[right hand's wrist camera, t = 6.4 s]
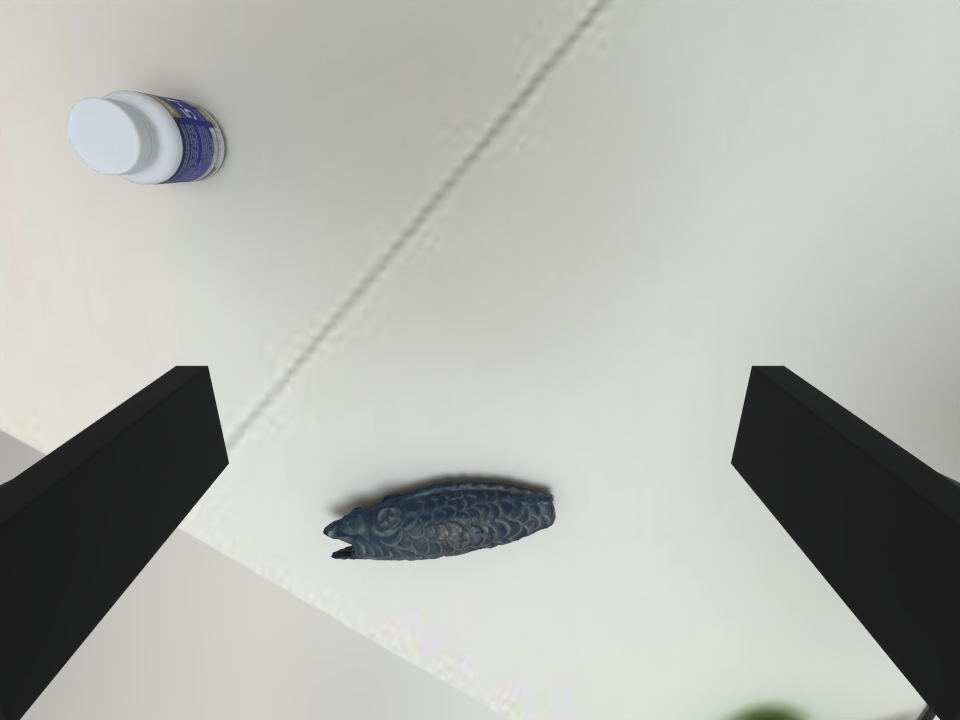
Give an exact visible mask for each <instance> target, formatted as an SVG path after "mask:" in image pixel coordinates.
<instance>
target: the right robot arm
mask: <svg viewBox="0 0 960 720" xmlns="http://www.w3.org/2000/svg"><path fill="white" fill-rule="evenodd" d="M228 464H229V461H228V456H227V452H226V447H225V442H224V438H223V433H222V429H221V424H220V419H219V415H218V410H217V405H216V401H215V396H214V392H213V387H212V382H211V378H210V373H209V368H208V366H175V367H174V368H172V369H171V370H170V371H168V372H167V373H165V374H164V375H162V376H161V377H159V378H158V379H157V380H155V381H154V382H152V383H151V384H149V385H148V386H146V387H145V388H144V389H142V390H141V391H139V392H138V393H136V394H135V395H133V396H132V397H131V398H129V399H128V400H126V401H125V402H123V403H122V404H120V405H119V406H118V407H116V408H115V409H113V410H112V411H110V412H109V413H107V414H106V415H105V416H103V417H102V418H100V419H99V420H97V421H96V422H94V423H93V424H92V425H90V426H89V427H87V428H86V429H84V430H83V431H81V432H80V433H79V434H77V435H76V436H74V437H73V438H71V439H70V440H68V441H67V442H66V443H64V444H63V445H61V446H60V447H58V448H57V449H55V450H54V451H53V452H51V453H50V454H48V455H47V456H45V457H44V458H42V459H41V460H40V461H38V462H37V463H35V464H34V465H32V466H31V467H30V468H28V469H27V470H25V471H24V472H22V473H21V474H19V475H18V476H16V477H15V478H14V479H12V480H10V481H8V482H6V483H4V484H2V485H0V720H20V719H21V718H22V716H23V715H24V714H25V713H26V711H27V710H28V709H29V708H30V707H31V705H32V704H33V703H34V702H35V700H36V699H37V698H38V697H39V696H40V694H41V693H42V692H43V691H44V689H45V688H46V687H47V686H48V685H49V683H50V682H51V681H52V680H53V678H54V677H55V676H56V675H57V674H58V672H59V671H60V670H61V669H62V667H63V666H64V665H65V664H66V663H67V661H68V660H69V659H70V658H71V656H72V655H73V654H74V653H75V651H76V650H77V649H78V648H79V647H80V645H81V644H82V643H83V642H84V640H85V639H86V638H87V637H88V636H89V634H90V633H91V632H92V631H93V629H94V628H95V627H96V626H97V624H98V623H99V622H100V621H101V620H102V618H103V617H104V616H105V615H106V613H107V612H108V611H109V610H110V609H111V607H112V606H113V605H114V604H115V602H116V601H117V600H118V599H119V598H120V596H121V595H122V594H123V593H124V591H125V590H126V589H127V588H128V587H129V585H130V584H131V583H132V582H133V580H134V579H135V578H136V577H137V575H138V574H139V573H140V572H141V571H142V569H143V568H144V567H145V566H146V564H147V563H148V562H149V561H150V560H151V558H152V557H153V556H154V555H155V553H156V552H157V551H158V550H159V548H160V547H161V546H162V545H163V543H164V542H165V541H166V540H167V539H168V537H169V536H170V535H171V534H172V533H173V531H174V530H175V529H176V528H177V526H178V525H179V524H180V523H181V522H182V520H183V519H184V518H185V517H186V515H187V514H188V513H189V512H190V510H191V509H192V508H193V507H194V506H195V504H196V503H197V502H198V501H199V499H200V498H201V497H202V496H203V495H204V493H205V492H206V491H207V490H208V488H209V487H210V486H211V485H212V484H213V482H214V481H215V480H216V479H217V477H218V476H219V475H220V474H221V472H222V471H223V470H224V469H225V468H226V466H227V465H228ZM731 464H732V465H733V466H734V468H735V469H736V470H737V471H738V472H739V474H740V475H741V476H742V477H743V479H744V480H745V481H746V482H747V484H748V485H749V486H750V487H751V488H752V490H753V491H754V492H755V493H756V495H757V496H758V497H759V498H760V499H761V501H762V502H763V503H764V504H765V506H766V507H767V508H768V509H769V511H770V512H771V513H772V514H773V515H774V517H775V518H776V519H777V520H778V522H779V523H780V524H781V525H782V526H783V528H784V529H785V530H786V531H787V533H788V534H789V535H790V536H791V537H792V539H793V540H794V541H795V542H796V544H797V545H798V546H799V547H800V549H801V550H802V551H803V552H804V553H805V555H806V556H807V557H808V558H809V560H810V561H811V562H812V563H813V564H814V566H815V567H816V568H817V569H818V571H819V572H820V573H821V574H822V575H823V577H824V578H825V579H826V580H827V582H828V583H829V584H830V585H831V587H832V588H833V589H834V590H835V591H836V593H837V594H838V595H839V596H840V598H841V599H842V600H843V601H844V602H845V604H846V605H847V606H848V607H849V609H850V610H851V611H852V612H853V613H854V615H855V616H856V617H857V618H858V620H859V621H860V622H861V623H862V625H863V626H864V627H865V628H866V629H867V631H868V632H869V633H870V634H871V636H872V637H873V638H874V639H875V640H876V642H877V643H878V644H879V645H880V647H881V648H882V649H883V650H884V651H885V653H886V654H887V655H888V656H889V658H890V659H891V660H892V661H893V663H894V664H895V665H896V666H897V667H898V669H899V670H900V671H901V672H902V674H903V675H904V676H905V677H906V678H907V680H908V681H909V682H910V683H911V685H912V686H913V687H914V688H915V689H916V691H917V692H918V693H919V694H920V696H921V697H922V698H923V699H924V701H925V702H926V703H927V704H928V705H929V707H930V708H931V709H932V710H933V712H934V713H935V714H936V715H937V716H938V718H939V719H940V720H960V483H959V482H957V481H955V480H953V479H951V478H948V477H946V476H944V475H942V474H940V473H938V472H936V471H935V470H933V469H932V468H931V467H929V466H928V465H926V464H925V463H923V462H922V461H920V460H919V459H918V458H916V457H915V456H913V455H912V454H910V453H909V452H907V451H906V450H905V449H903V448H902V447H900V446H899V445H897V444H896V443H894V442H893V441H892V440H890V439H889V438H887V437H886V436H884V435H883V434H881V433H880V432H879V431H877V430H876V429H874V428H873V427H871V426H870V425H868V424H867V423H866V422H864V421H863V420H861V419H860V418H858V417H857V416H855V415H854V414H853V413H851V412H850V411H848V410H847V409H845V408H844V407H842V406H841V405H840V404H838V403H837V402H835V401H834V400H832V399H831V398H829V397H828V396H827V395H825V394H824V393H822V392H821V391H819V390H818V389H816V388H815V387H814V386H812V385H811V384H809V383H808V382H806V381H805V380H803V379H802V378H801V377H799V376H798V375H796V374H795V373H793V372H792V371H790V370H789V369H788V368H786V367H785V366H752V368H751V373H750V378H749V382H748V387H747V391H746V396H745V401H744V405H743V410H742V415H741V419H740V424H739V429H738V433H737V438H736V442H735V447H734V452H733V456H732V461H731Z"/></svg>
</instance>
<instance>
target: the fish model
mask: <svg viewBox="0 0 960 720" xmlns="http://www.w3.org/2000/svg"><path fill="white" fill-rule="evenodd" d="M552 502H553V495H552V494H543V493H541V492H532V491H529V490H528V489H522V490H521V489H518V488H516V487H514V486H510V485H507V486H502V485H500V484H497V483H491V484H484V483H475V484H471V483H470V482H464V483H463V482H462V483H457V484H455V483H450V482H447V483H444V484H442V485H432V486H429V487H427V488H426V489H419V490H416V491H414V492H411V493H409V494H406V495H402V496H400V495H398V494H396V495H390V496H387V497H385V498H384V500H383V502H382V503H378V504H377V505H375V506H372V507H370V508H364V509H363V508H360V507H358V508H354V509H353V510H352V512H351V513H350V514H348V515H346V516H344V517H343V518H341V519H340V520H336V521H334V522H332V523H331V524H329V525H328V526H326V527H325V529H324V531H323V533H324V534H325V535H327V536H328V537H330V538H333V539H340V540H342V541H344V542H347V543H349V544H351V545H352V546H349V547H346V548H344V549H340V550H338V551H336V552H333V554H332V556H331V557H332V558H335V559H372V560H409V561H412V560H424V559H437V558H440V557H442V556H446V557H448V556H457V555H461V554H465V553H468V552H471V551H475V550H478V549H483V548H493V547H495V546H497V545H504V544H507V543H511V542H513V541H517V540H519V539H521V538H523V537H526V536H529V535H531V534H533V533H535V532H536V531H539V530H541V529H545V528H548V527H549V526H552V524H553V523H554V521H555V508H554V506H553V503H552Z"/></svg>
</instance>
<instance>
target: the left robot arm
mask: <svg viewBox="0 0 960 720" xmlns="http://www.w3.org/2000/svg"><path fill="white" fill-rule="evenodd" d="M935 716H936V714H935V713H934V712H933V710H932V709H931V708H929V709H928V711H927V712H926V714H925V715H924V717H923V718H922V720H933V719H934V717H935Z"/></svg>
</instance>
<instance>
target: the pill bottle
mask: <svg viewBox="0 0 960 720" xmlns="http://www.w3.org/2000/svg"><path fill="white" fill-rule="evenodd" d="M67 134H68V138H69V141H70V144H71V146H72V148H73V150H74V151H75V153H76V154H77V156H78V157H79V158H80V159H81V160H82V161H83V162H84V163H85V164H86V165H88V166H89V167H90V168H92V169H94V170H96V171H98V172H100V173H103V174H107V175H118V176H120V177H122V178H124V179H126V180H128V181H131V182H134V183H138V184H165V183H177V182H192V181H199V180H204V179H206V178H209V177H210V176H212V175H213V174H214V173H215V172H216V171H217V170H218V169H219V167H220V166H221V164H222V161H223V158H224V150H225V147H224V140H223V136H222V133H221V131H220V129H219V127H218V125H217V123H216V122H215V120H214V119H213V118H212V117H211V116H210V115H209V114H208V113H207V112H206V111H205V110H204V109H202V108H201V107H199V106H197V105H195V104H193V103H190V102H187V101H182V100H177V99H171V98H166V97H160V96H155V95H150V94H145V93H140V92H135V91H117V92H112V93H110V94H108V95H106V96H104V97H103V98H95V97H94V98H86V99H83V100H81V101H79V102H78V103H76V104H75V105H74V106H73V107H72V109H71V110H70V112H69V115H68V118H67Z"/></svg>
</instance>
